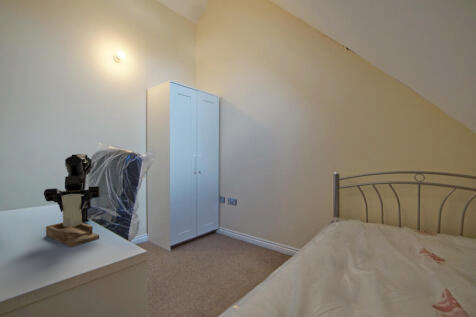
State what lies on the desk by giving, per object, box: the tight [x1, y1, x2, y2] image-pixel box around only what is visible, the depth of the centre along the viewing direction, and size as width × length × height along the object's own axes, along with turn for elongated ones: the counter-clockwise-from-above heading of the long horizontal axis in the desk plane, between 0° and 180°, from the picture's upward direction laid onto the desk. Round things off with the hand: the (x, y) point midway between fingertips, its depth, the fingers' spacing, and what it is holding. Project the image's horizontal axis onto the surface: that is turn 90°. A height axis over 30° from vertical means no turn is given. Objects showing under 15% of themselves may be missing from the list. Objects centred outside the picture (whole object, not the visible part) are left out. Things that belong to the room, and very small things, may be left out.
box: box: [62, 194, 83, 227], centre depth 88 cm, size 5×4×13 cm
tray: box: [45, 222, 100, 248], centre depth 88 cm, size 10×21×4 cm, turn 61°
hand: (71, 210), depth 87 cm, fingers closed on box, 6 cm apart
